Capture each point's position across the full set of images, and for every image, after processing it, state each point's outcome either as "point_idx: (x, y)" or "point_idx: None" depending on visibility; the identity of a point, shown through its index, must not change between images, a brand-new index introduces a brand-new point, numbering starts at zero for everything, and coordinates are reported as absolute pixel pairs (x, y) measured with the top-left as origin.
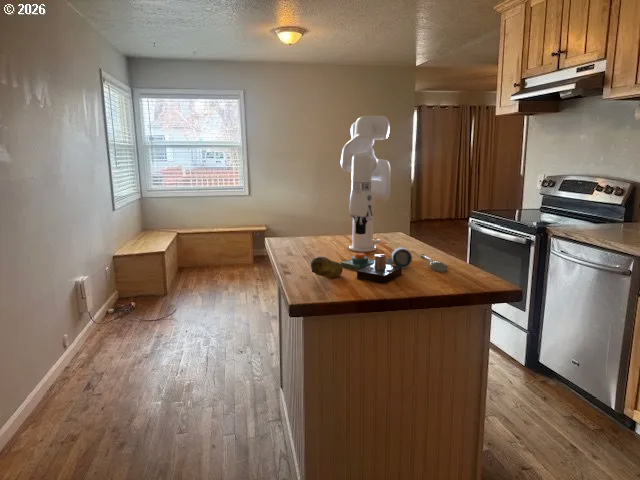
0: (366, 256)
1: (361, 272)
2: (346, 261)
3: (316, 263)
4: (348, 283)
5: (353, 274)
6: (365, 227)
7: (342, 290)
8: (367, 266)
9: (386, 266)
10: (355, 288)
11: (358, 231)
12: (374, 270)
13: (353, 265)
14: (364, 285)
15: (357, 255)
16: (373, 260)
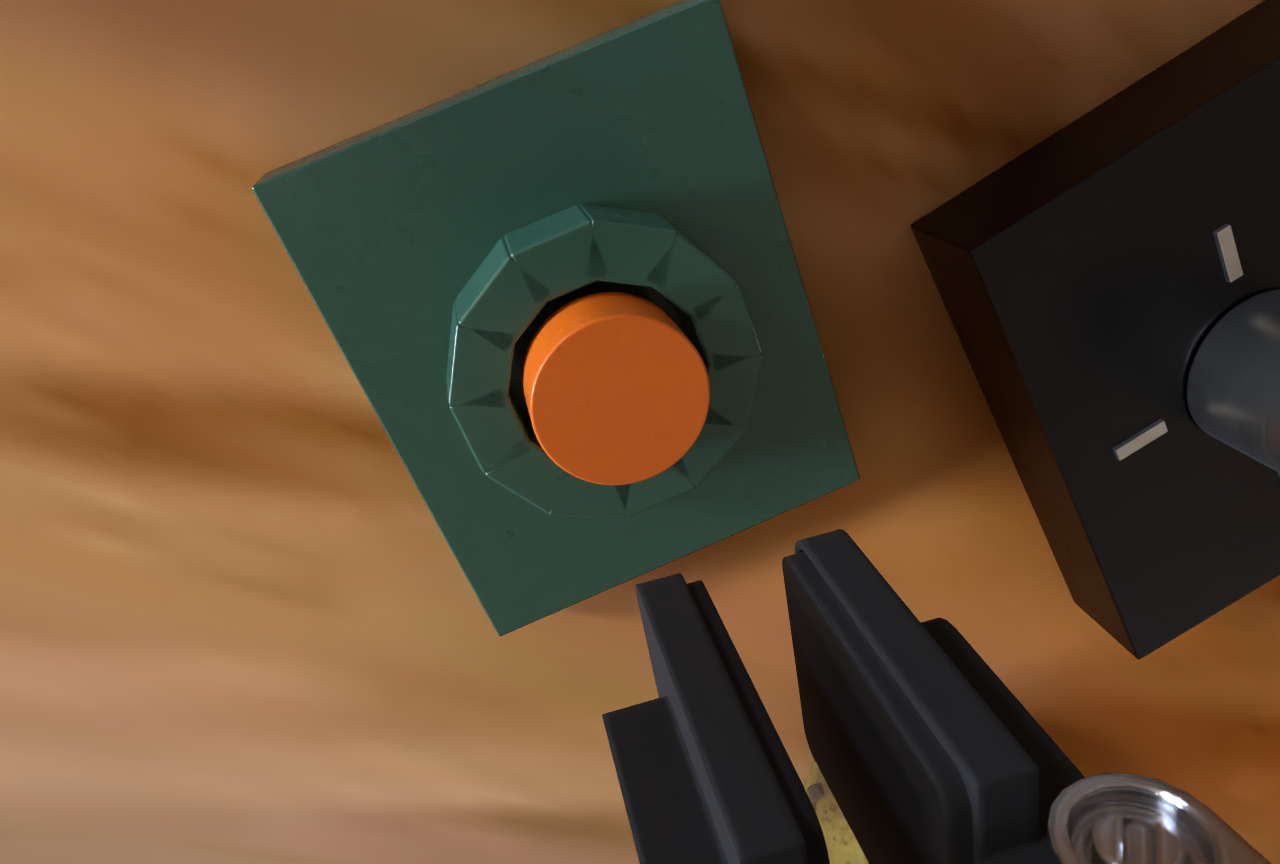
0: (603, 235)
1: (1188, 621)
2: (499, 547)
3: None
4: (1134, 719)
5: (914, 575)
6: (944, 661)
7: (1243, 811)
8: (1067, 469)
9: (1231, 205)
10: (1277, 707)
11: (838, 804)
12: (1258, 466)
13: (745, 527)
14: (1271, 608)
15: (658, 469)
16: (621, 73)
